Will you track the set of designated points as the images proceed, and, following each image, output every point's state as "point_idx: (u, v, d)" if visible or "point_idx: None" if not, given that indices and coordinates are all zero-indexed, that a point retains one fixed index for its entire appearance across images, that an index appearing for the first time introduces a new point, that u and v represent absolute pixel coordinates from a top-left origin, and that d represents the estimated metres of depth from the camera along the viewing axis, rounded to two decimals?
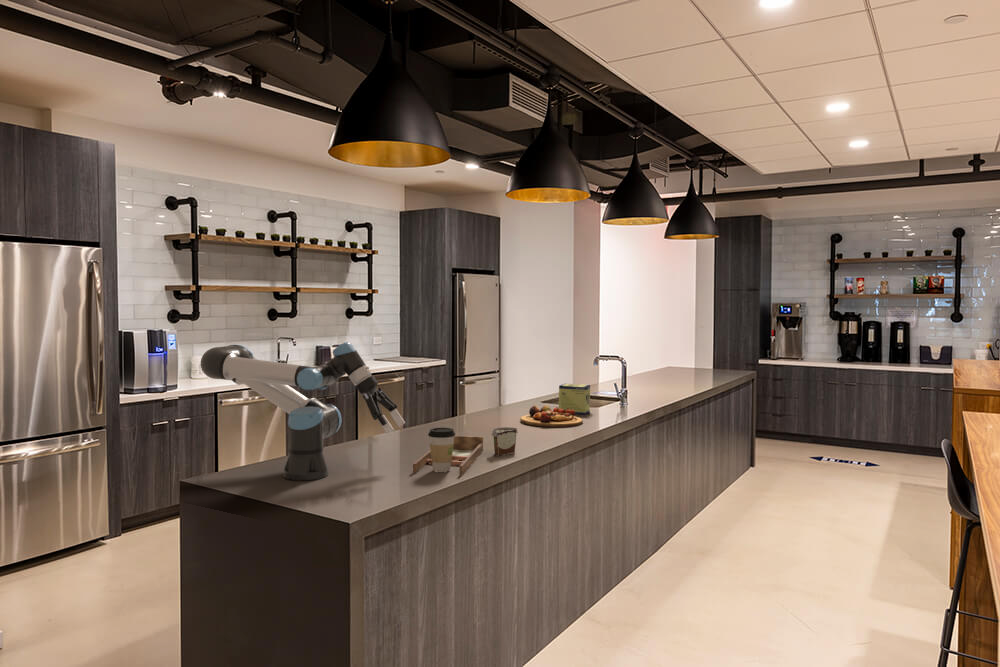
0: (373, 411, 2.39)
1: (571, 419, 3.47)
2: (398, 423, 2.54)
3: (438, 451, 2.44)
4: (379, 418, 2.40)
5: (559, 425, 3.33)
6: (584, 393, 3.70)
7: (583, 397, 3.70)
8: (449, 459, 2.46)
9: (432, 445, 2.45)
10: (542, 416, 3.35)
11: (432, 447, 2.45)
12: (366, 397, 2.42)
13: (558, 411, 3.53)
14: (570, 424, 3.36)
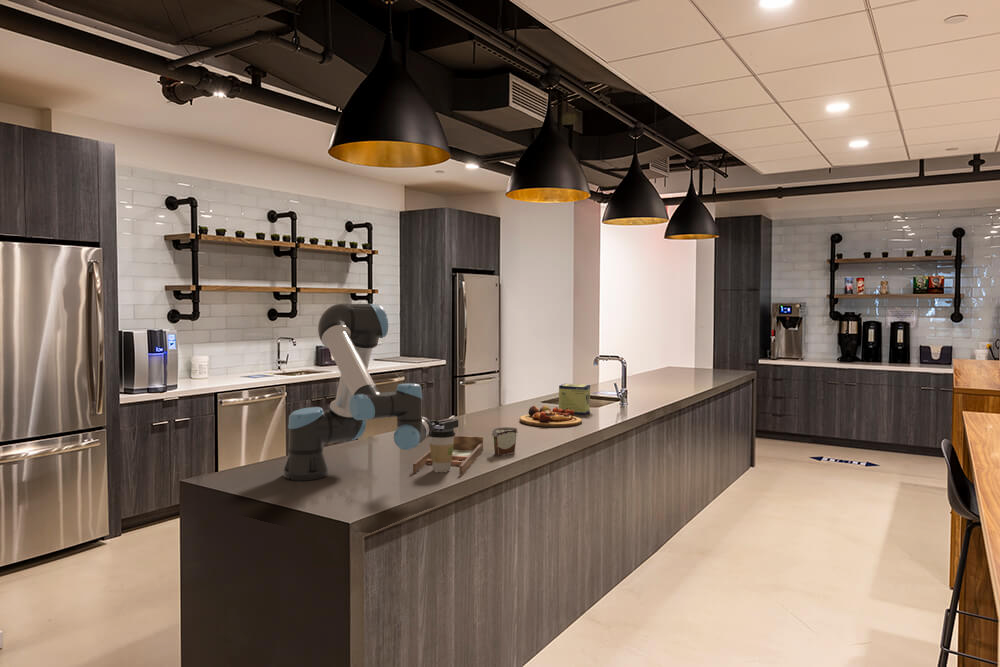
0: None
1: (570, 419, 3.47)
2: None
3: (438, 451, 2.44)
4: None
5: (558, 425, 3.34)
6: (584, 393, 3.70)
7: (583, 397, 3.70)
8: (449, 459, 2.46)
9: (432, 445, 2.45)
10: (541, 416, 3.35)
11: (432, 447, 2.45)
12: None
13: (557, 411, 3.53)
14: (569, 424, 3.36)
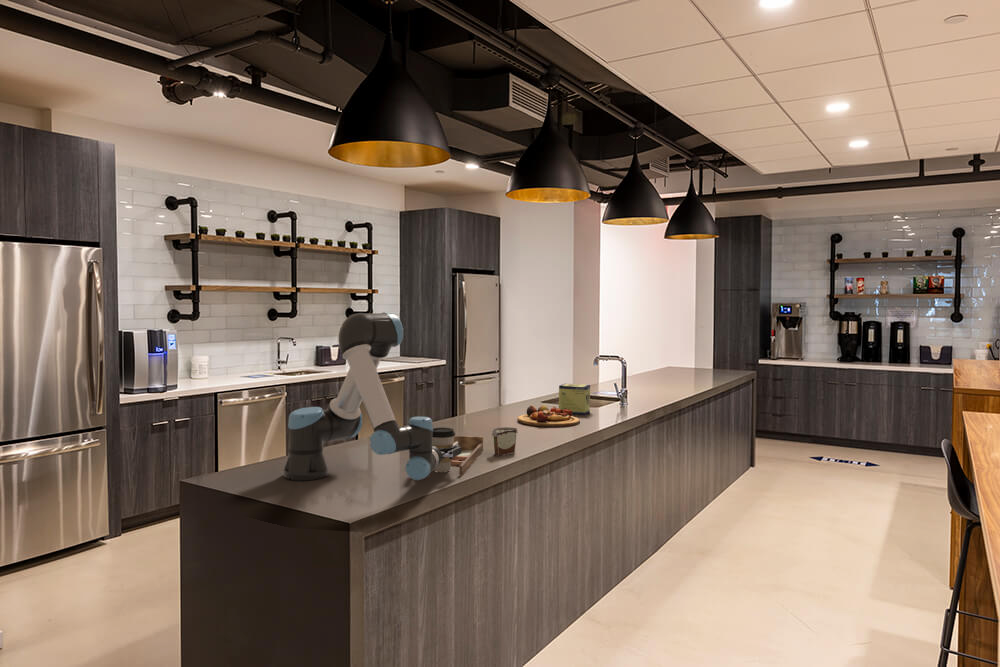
0: None
1: (568, 419, 3.48)
2: None
3: None
4: None
5: (555, 425, 3.34)
6: (584, 393, 3.70)
7: (583, 397, 3.70)
8: (449, 459, 2.46)
9: (432, 445, 2.45)
10: (538, 416, 3.36)
11: None
12: None
13: (555, 411, 3.54)
14: (566, 424, 3.36)
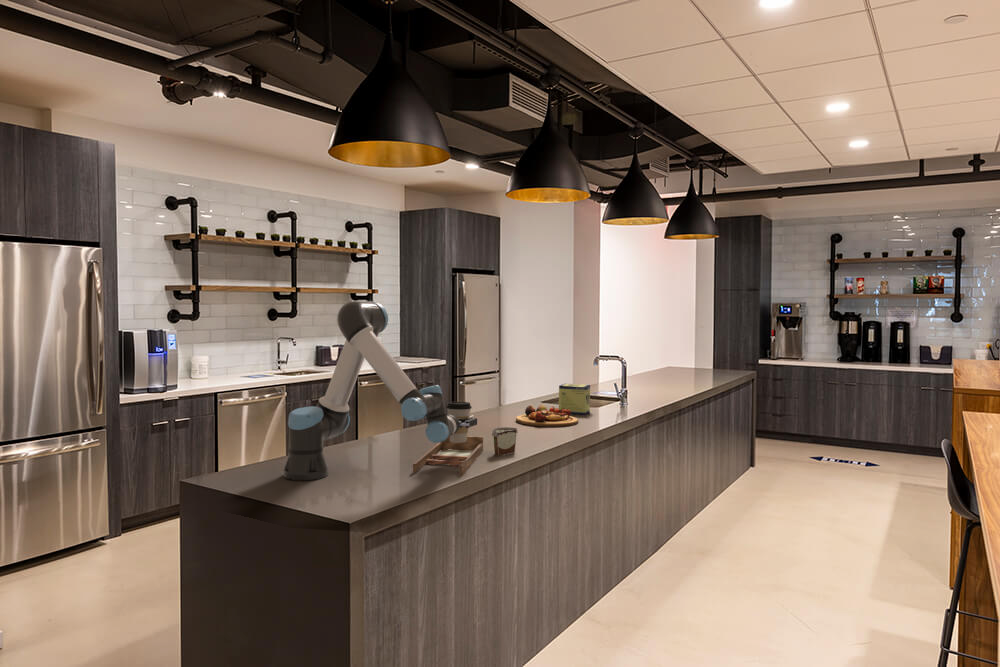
0: None
1: (566, 419, 3.48)
2: None
3: None
4: None
5: (553, 425, 3.34)
6: (584, 393, 3.70)
7: (583, 397, 3.70)
8: (465, 430, 2.63)
9: None
10: (537, 416, 3.36)
11: None
12: None
13: (554, 411, 3.54)
14: (565, 424, 3.36)
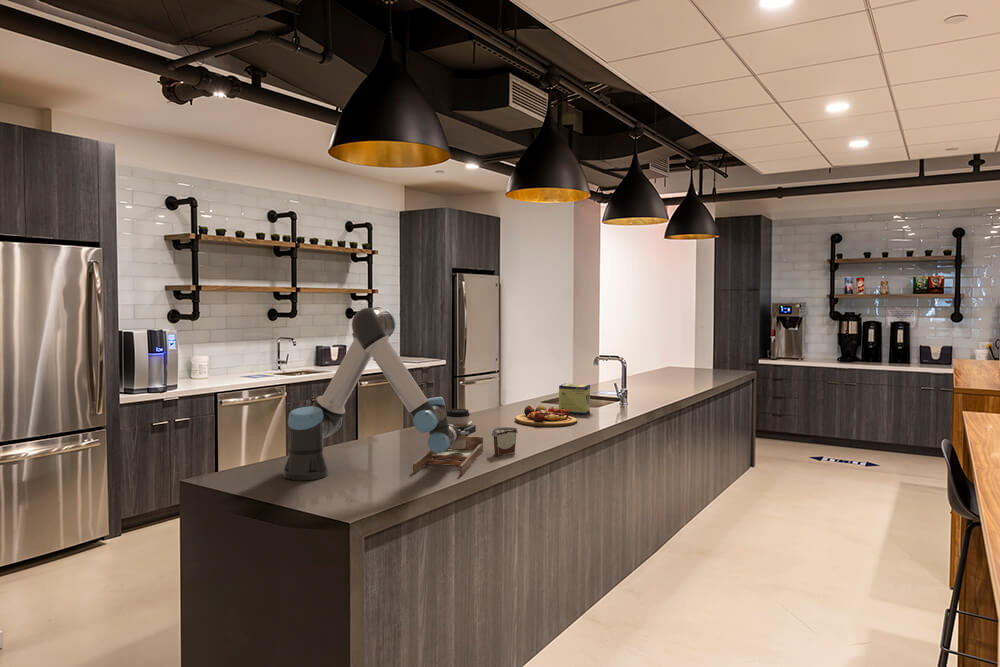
0: None
1: (565, 419, 3.48)
2: (469, 423, 2.76)
3: None
4: None
5: (552, 425, 3.35)
6: (584, 393, 3.70)
7: (583, 397, 3.70)
8: (464, 437, 2.71)
9: None
10: (535, 416, 3.37)
11: None
12: None
13: (553, 411, 3.54)
14: (563, 424, 3.37)
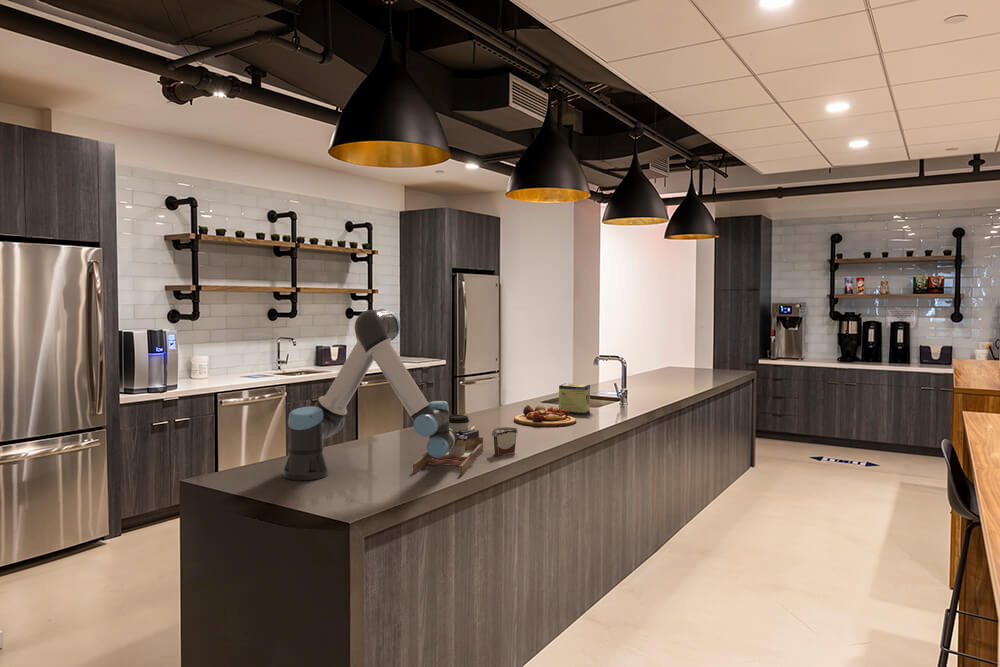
0: None
1: (564, 419, 3.48)
2: (472, 428, 2.72)
3: None
4: None
5: (551, 424, 3.35)
6: (584, 393, 3.70)
7: (583, 397, 3.70)
8: (464, 443, 2.71)
9: None
10: (534, 415, 3.37)
11: None
12: None
13: (552, 411, 3.54)
14: (562, 424, 3.37)
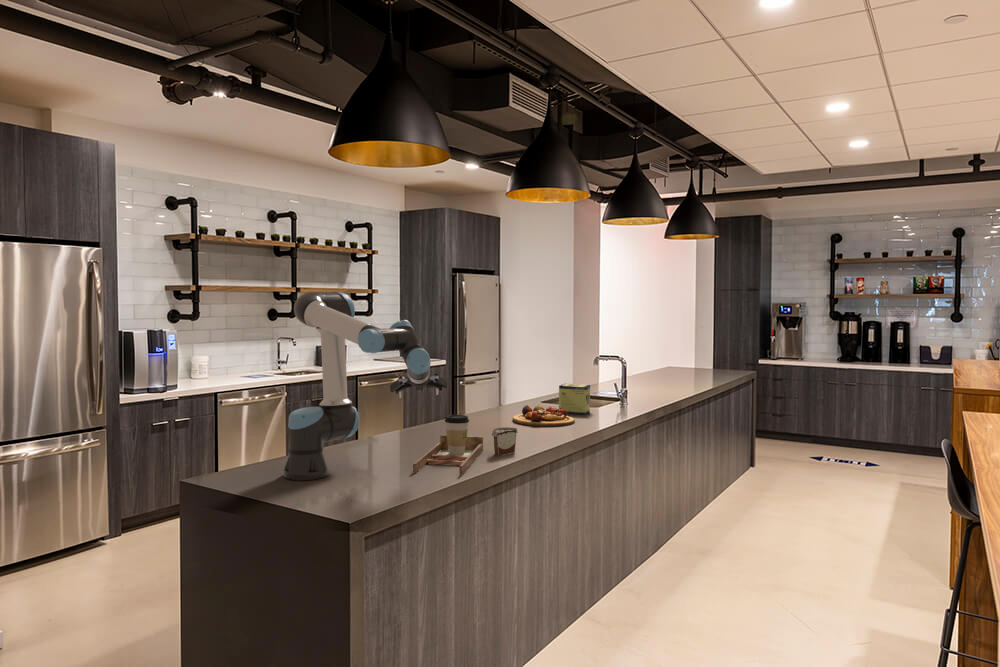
0: (392, 387, 2.43)
1: None
2: None
3: (454, 436, 2.69)
4: None
5: (549, 424, 3.35)
6: (584, 393, 3.70)
7: (583, 397, 3.70)
8: (464, 443, 2.71)
9: (448, 430, 2.70)
10: (532, 415, 3.37)
11: (448, 432, 2.70)
12: (398, 380, 2.38)
13: (551, 410, 3.55)
14: (560, 423, 3.37)
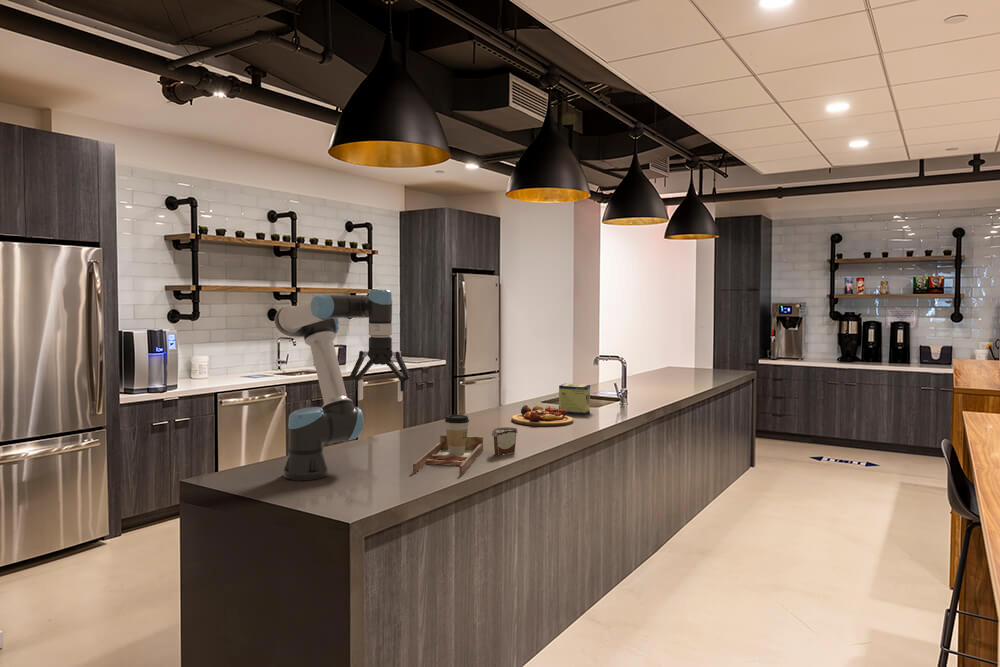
0: None
1: (562, 418, 3.49)
2: None
3: (454, 436, 2.69)
4: None
5: (548, 424, 3.35)
6: (584, 393, 3.70)
7: (583, 397, 3.70)
8: (464, 443, 2.71)
9: (448, 430, 2.70)
10: (531, 415, 3.38)
11: (448, 432, 2.70)
12: None
13: (550, 410, 3.55)
14: (559, 423, 3.37)
